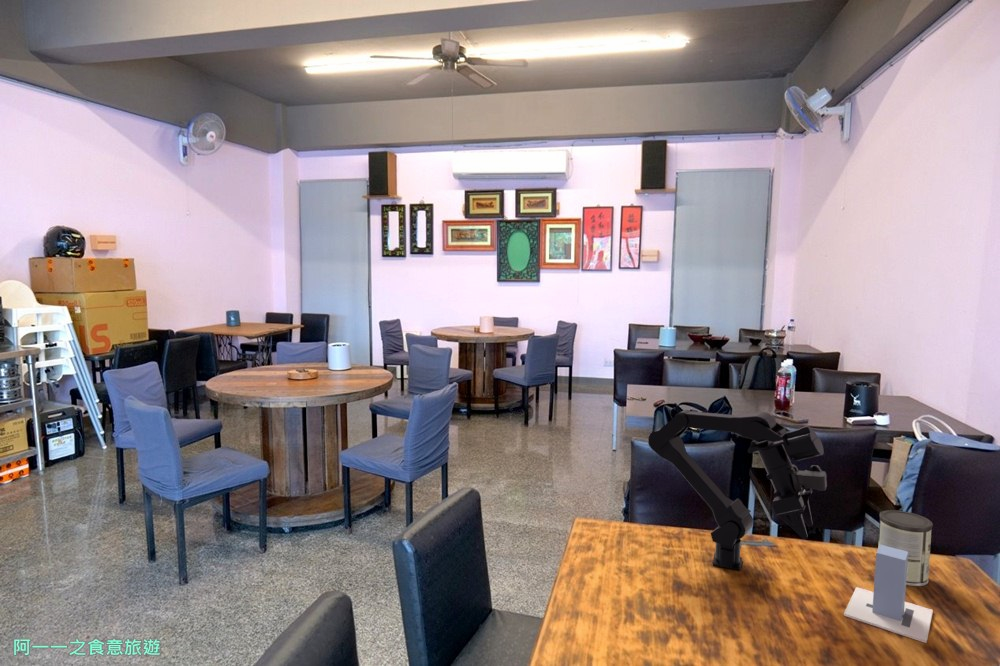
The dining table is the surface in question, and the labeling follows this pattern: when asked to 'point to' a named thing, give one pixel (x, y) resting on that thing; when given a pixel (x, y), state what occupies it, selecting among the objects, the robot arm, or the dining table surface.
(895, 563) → the slate blue block
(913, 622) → the letter tile
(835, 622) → the dining table surface
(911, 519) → the coffee can
